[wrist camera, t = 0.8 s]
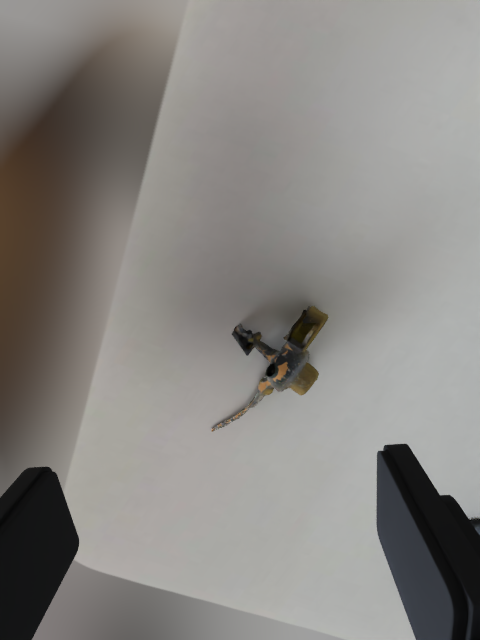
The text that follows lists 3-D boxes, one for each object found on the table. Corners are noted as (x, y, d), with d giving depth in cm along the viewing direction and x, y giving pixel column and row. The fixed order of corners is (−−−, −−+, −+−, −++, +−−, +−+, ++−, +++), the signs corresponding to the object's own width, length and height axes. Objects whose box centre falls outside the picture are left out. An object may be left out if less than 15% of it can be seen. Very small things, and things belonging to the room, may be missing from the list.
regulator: (245, 443, 32) (361, 335, 26) (227, 469, 29) (355, 352, 22) (190, 386, 34) (287, 269, 27) (166, 404, 30) (270, 275, 23)
